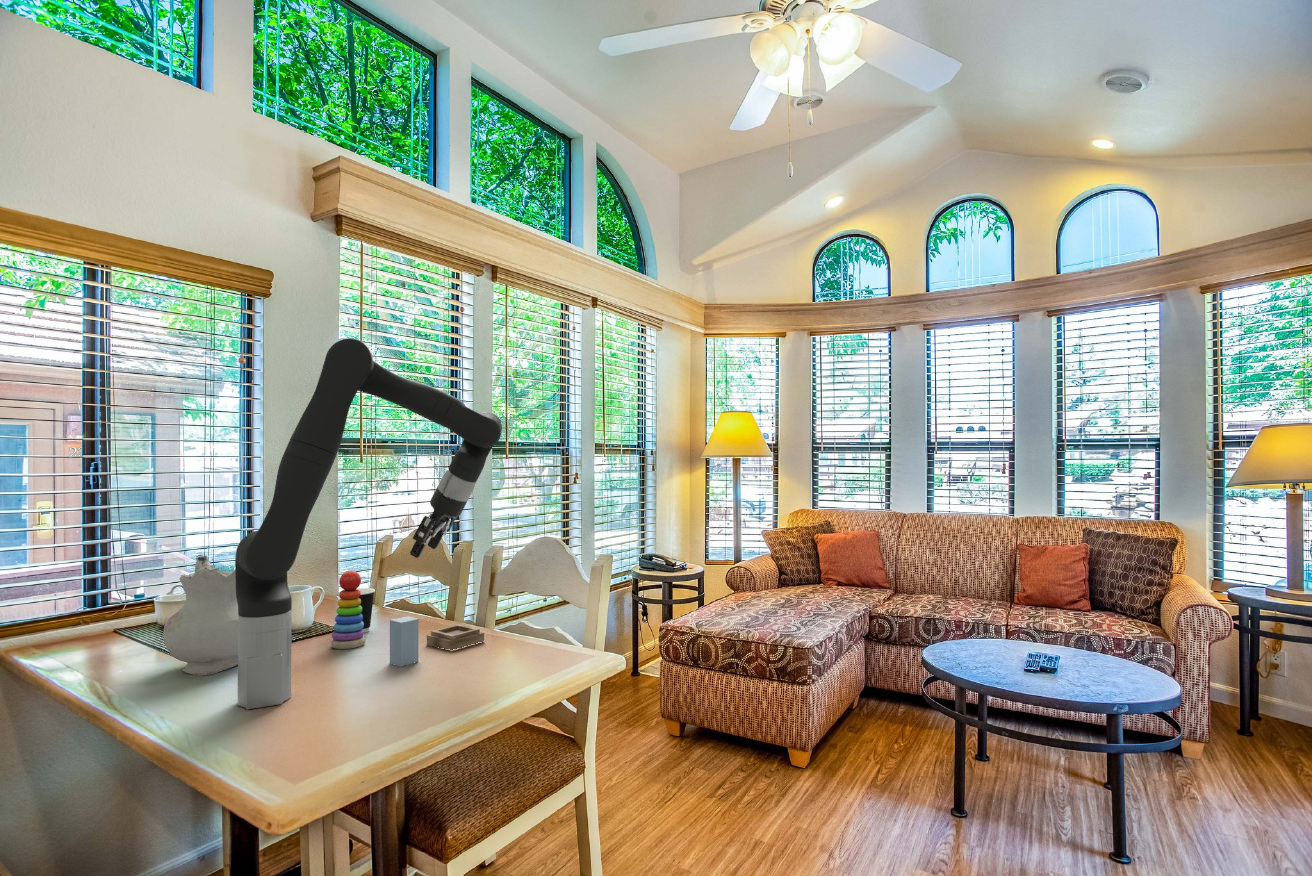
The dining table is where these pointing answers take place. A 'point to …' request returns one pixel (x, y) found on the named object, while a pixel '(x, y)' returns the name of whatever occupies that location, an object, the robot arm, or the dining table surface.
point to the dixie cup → (366, 606)
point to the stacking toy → (348, 614)
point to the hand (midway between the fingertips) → (423, 551)
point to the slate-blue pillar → (404, 640)
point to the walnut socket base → (455, 637)
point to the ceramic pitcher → (205, 621)
